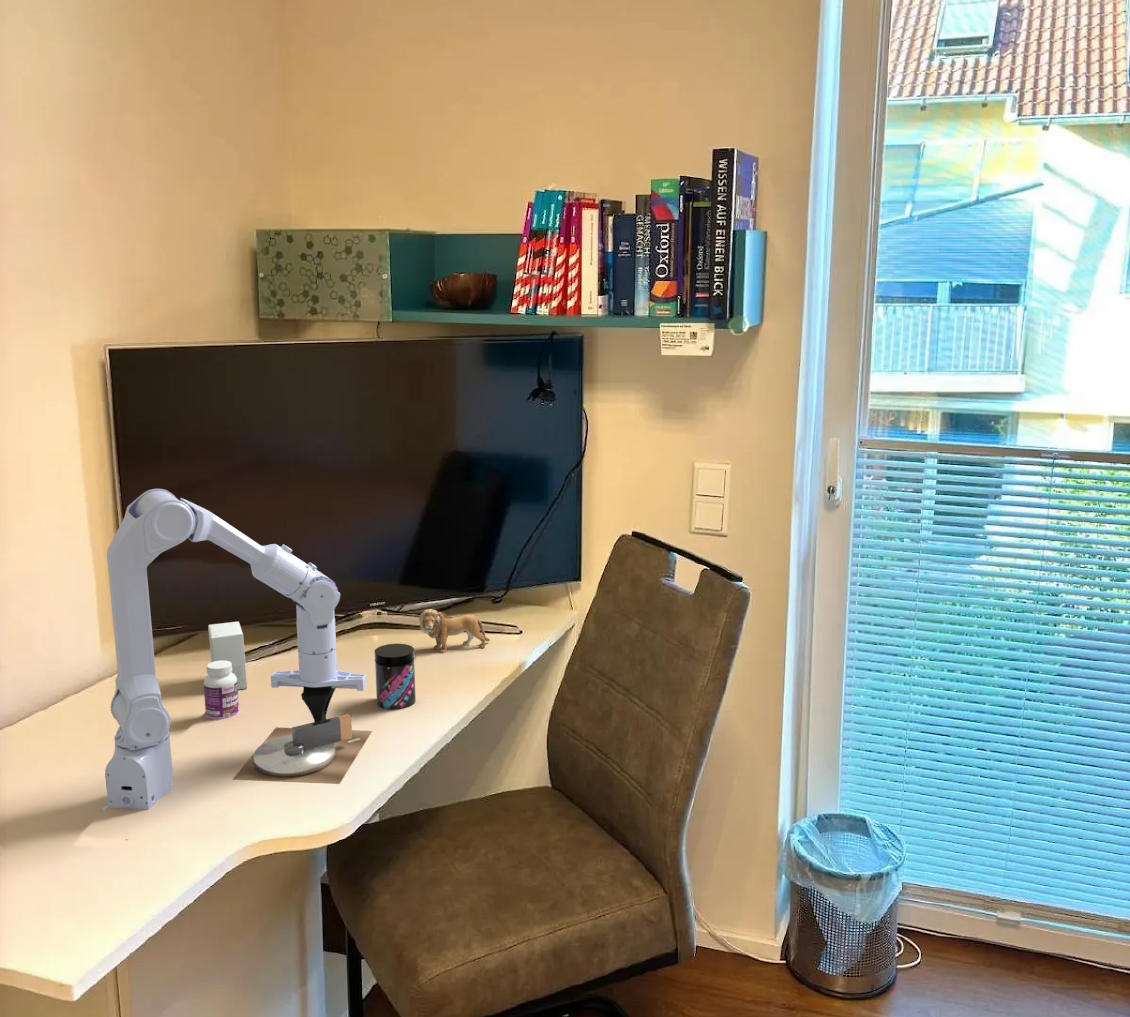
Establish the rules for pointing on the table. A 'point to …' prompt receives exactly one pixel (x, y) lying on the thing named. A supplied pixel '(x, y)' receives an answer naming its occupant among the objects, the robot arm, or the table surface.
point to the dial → (303, 748)
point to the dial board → (329, 774)
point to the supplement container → (395, 676)
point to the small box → (229, 648)
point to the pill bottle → (221, 691)
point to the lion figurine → (450, 627)
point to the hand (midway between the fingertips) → (321, 730)
